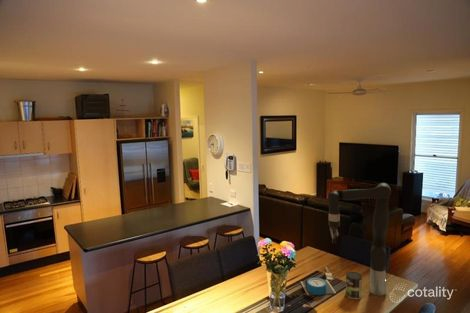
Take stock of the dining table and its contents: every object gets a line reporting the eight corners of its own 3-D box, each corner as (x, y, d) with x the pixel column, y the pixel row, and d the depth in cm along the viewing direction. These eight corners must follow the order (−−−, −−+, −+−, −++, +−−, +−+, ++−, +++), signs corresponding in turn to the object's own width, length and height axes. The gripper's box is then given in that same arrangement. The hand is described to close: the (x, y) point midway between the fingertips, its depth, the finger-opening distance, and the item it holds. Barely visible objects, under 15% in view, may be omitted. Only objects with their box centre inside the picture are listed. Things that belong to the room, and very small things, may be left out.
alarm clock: (312, 288, 214) (302, 277, 228) (313, 297, 215) (302, 285, 229) (330, 285, 218) (318, 274, 232) (330, 293, 219) (318, 282, 233)
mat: (326, 280, 237) (326, 279, 237) (336, 293, 219) (336, 292, 219) (300, 282, 236) (300, 281, 236) (307, 295, 218) (307, 294, 218)
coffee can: (352, 300, 210) (353, 280, 208) (342, 292, 220) (342, 273, 218) (365, 297, 214) (365, 277, 212) (354, 289, 223) (354, 270, 222)
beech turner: (323, 268, 255) (323, 267, 255) (328, 268, 255) (328, 267, 255) (327, 280, 237) (327, 278, 237) (333, 280, 237) (333, 278, 237)
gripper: (343, 222, 219) (343, 246, 221) (335, 216, 232) (335, 239, 234) (332, 222, 218) (332, 247, 220) (325, 216, 231) (325, 239, 234)
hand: (334, 243), depth 227 cm, fingers closed
